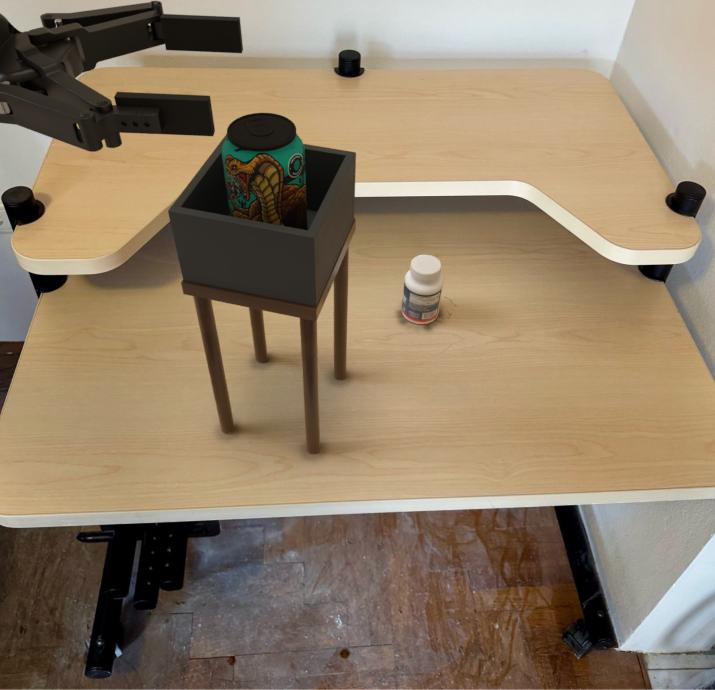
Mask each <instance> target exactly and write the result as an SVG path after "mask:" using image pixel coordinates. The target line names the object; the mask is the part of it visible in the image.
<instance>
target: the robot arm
mask: <svg viewBox="0 0 715 690" xmlns="http://www.w3.org/2000/svg"><path fill="white" fill-rule="evenodd" d="M39 19H40V22H41V25H42V26H41V27H36V28H32V29H30V30H27V31H26V30H25V31H20V30H18V28H16V27H15V26H14V25H13V24H12V23H11V22H10V21H9V19H8V18H7V17H5V15H3V14H2V13H0V124H6V125H8V124H9V125H16V126H19V127H22V128H24V129H27V130H30V131H32V132H34V133H38V134H40V135H42V136H43V135H44V136H45V137H49V138H51V139H54V140H57V141H59V142H61V143H65V144H67V145H71V146H72V147H73V146H74V147H76V148H79V149H81V150H84V151H87V152H90V153H91V152H92V153H93V152H94V153H96V152H98V151H101V150H102V149H103V148H104V144H103V143H105V147H106V148H108V149H116V148H119V147H120V146H122V144H123V141H122V137H121V133H122V134H146V135H169V136H170V135H173V136H192V137H193V136H196V137H214V136H215V131H216V130H215V129H216V127H215V122H214V121H215V120H214V114H213V108H212V106H213V105H212V99H211V95H204V94H203V95H201V94H183V93H182V94H180V93H179V94H178V93H157V92H156V93H155V92H133V91H130V92H129V91H116V92H115V95H114V97H113V98H114V102H115V104H113V102H112V100H111V99H110V98H108V97H107V96H105V95H104V94H102V93H100V92H98V91H97V90H96V89H93V88H91V86H89V85H86V84H85V83H83V82H81V81H80V80H78V79H77V78H78V77H79V76H80V75H81V74H84V73H87V72H90V71H93V70H95V69H96V67H97V64H98V63H100V62H104V61H108V60H112V59H115V58H118V57H122V56H126V55H130V54H133V53H137V52H140V51H145V50H148V49H152V48H156V47H159V46H163V45H164V46H165V51H174V52H175V51H177V52H200V53H201V52H202V53H226V54H243V51H244V45H243V35H242V25H241V24H242V23H241V17H240V16H224V15H223V16H221V15H201V14H200V15H199V14H197V15H195V14H194V15H193V14H174V13H172V14H171V13H164V8H163V3H162V2H161V1H160V0H150V1H148V2H140V3H134V4H126V5H119V6H111V7H105V8H104V7H103V8H97V9H90V10H82V11H75V12H74V11H73V12H45V13H42V14H41V15H40V16H39ZM103 141H104V142H103Z"/></svg>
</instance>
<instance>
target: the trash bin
mask: <svg viewBox="0 0 715 690" xmlns="http://www.w3.org/2000/svg"><path fill="white" fill-rule="evenodd" d="M226 139H227V133H226V134H225V136H224V137H223V138H222V139H221V140H220V142H219V143H218V145H216V147H215V148H214V150H213V151H212V152H211V154H210V155H209V156H208V157H207V159H206V160H205V162H204V163H203V164H202V166H201V167H200V168H199V169H198V171H197V172H196V174H195V175H194V176H193V177H192V178H191V180H190V181H189V183H187V185H186V187H184V189H183V191H182V192H181V193H180V194H179V196H178V197H177V198H176V200H175V201H174V202H173V204H172V205H171V206H170V207H169V208H168V210H167V213H168V218H169V222H170V226H171V231H172V236H173V240H174V245H175V249H176V254H177V258H178V263H179V267H180V272H181V277H182V280H184V281H189V282H194V283H199V284H204V285H209V286H214V287H219V288H224V289H229V290H234V291H239V292H244V293H249V294H254V295H259V296H264V297H269V298H274V299H278V300H283V301H288V302H293V303H298V304H303V305H308V306H313V307H316V306H317V304H318V302H319V299H320V297H321V295H322V292H323V290H324V288H325V285H326V283H327V281H328V279H329V276H330V274H331V272H332V269H333V267H334V265H335V262H336V260H337V258H338V256H339V253H340V251H341V249H342V246H343V244H344V242H345V240H346V237H347V235H348V233H349V230H350V228H351V226H352V223H353V221H354V218H355V206H356V205H355V201H356V199H355V198H356V167H357V164H356V163H357V152H355V151H350V150H343V149H338V148H333V147H332V148H331V147H326V146H319V145H314V144H309V143H308V144H307V143H303V144H304V147H305V173H306V201H307V229H308V230H302V229H297V228H291V227H286V226H281V225H275V224H270V223H264V222H259V221H253V220H248V219H243V218H237V217H232V216H230V210H229V203H228V196H227V189H226V181H225V174H224V167H223V160H222V146H223V144H224V142H225V140H226Z"/></svg>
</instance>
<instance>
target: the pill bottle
mask: <svg viewBox="0 0 715 690" xmlns="http://www.w3.org/2000/svg"><path fill="white" fill-rule="evenodd" d="M441 272H442V262H441V261H440V259H439V258H438V257H436V256H434V255H431V254H419V255H416V256H415V257H413V258H412V260H411V262H410V267H409V270H408V271H407V272H406V273H405V276H404V281H403V289H402V299H401V313H402V315H403V317H404V318H405V319H406V320H407V321H408V322H410V323H413V324H418V325H427V324H430V323H432V322H434V321H435V320H437V318H438V316H439V313H440V306H441V298H442V293H443V289H444V288H443V287H444V276H443V275H442V273H441Z"/></svg>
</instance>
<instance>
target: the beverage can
mask: <svg viewBox="0 0 715 690" xmlns="http://www.w3.org/2000/svg"><path fill="white" fill-rule="evenodd" d="M226 134H227V139H226V140H225V142H224V144H223V146H222V160H223V167H224V174H225V181H226V189H227V196H228V203H229V210H230V216H232V217H237V218H243V219H248V220H253V221H259V222H264V223H270V224H275V225H281V226H286V227H291V228H297V229H302V230H308V229H307V201H306V173H305V147H304V144H305V143H304V141H303V140H302V139H301V137H300V136H299V134H298V133H297V126H296V124H295V123H294V122H293V120H291V119H290V118H288V117H286V116H284V115H281V114H278V113H274V112H254V113H249V114H245V115H242V116H240V117H238V118H235V119H234V120H233V121H232V122H230V124H228V126H227V129H226Z"/></svg>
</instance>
